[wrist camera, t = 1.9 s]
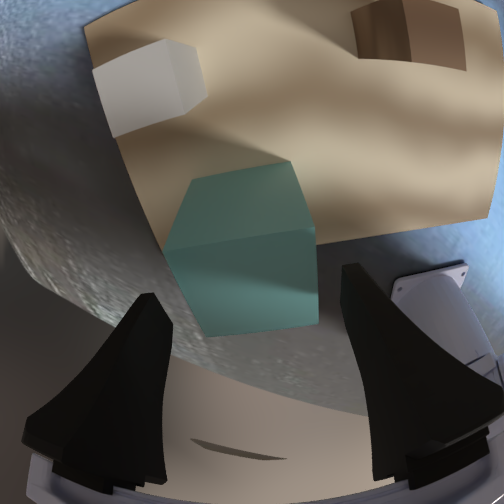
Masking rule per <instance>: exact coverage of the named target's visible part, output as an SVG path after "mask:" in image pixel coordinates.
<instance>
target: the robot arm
mask: <svg viewBox="0 0 504 504" xmlns="http://www.w3.org/2000/svg"><path fill="white" fill-rule="evenodd" d="M468 268H469V266H468V264H467V263H463V264H459V265H454V266H450V267H446V268H442V269H438V270H433V271H429V272H424V273H420V274H415V275H411V276H406V277H401V278H398V279H397V280H396V281H395V282H394V286H393V290H392V294H391V298H389V297H388V296H387V295H386V294H385V293H384V291H383V290H382V289H381V288H380V287H379V286H378V285H377V283H376V282H375V281H374V280H373V279H372V278H371V277H370V275H369V274H368V273H367V272H366V271H365V269H364V268H363V267H362V266H361V265H360V264H359V263H354V264H348V265H342V280H341V298H340V304H341V308H342V313H343V318H344V322H345V326H346V330H347V333H348V336H349V339H350V342H351V345H352V348H353V351H354V354H355V357H356V361H357V364H358V367H359V370H360V373H361V377H362V381H363V386H364V391H365V397H366V403H367V410H368V417H369V425H370V435H371V445H372V446H371V447H372V472H373V480H374V481H379V480H383V479H387V478H390V477H393V476H394V480H395V483H392V484H389V485H386V486H383V487H379V488H376V489H371V490H368V491H364V492H360V493H355V494H351V495H346V496H341V497H336V498H330V499H324V500H318V501H310V502H301V503H291V504H504V353H503V354H501V355H500V356H497V355H495V353H494V351H493V349H492V347H491V345H490V342H489V340H488V338H487V336H486V334H485V332H484V330H483V328H482V326H481V325H480V323H479V321H478V319H477V317H476V315H475V313H474V312H473V310H472V308H471V306H470V305H469V303H468V301H467V299H466V298H465V296H464V294H463V293H462V291H461V289H460V288H461V286H462V283H463V281H464V279H465V276H466V274H467V271H468ZM172 337H173V323H172V321H171V320H170V318H169V317H168V315H167V314H166V312H165V310H164V309H163V307H162V305H161V304H160V302H159V301H158V299H157V297H156V296H155V294H154V292H153V293H144V294H140V296H139V297H138V298H137V299H136V300H135V302H134V303H133V304H132V306H131V307H130V308H129V310H128V311H127V313H126V314H125V315H124V317H123V318H122V320H121V321H120V322H119V324H118V325H117V326H116V328H115V330H114V331H113V332H112V333H111V335H110V336H109V337H108V339H107V340H106V341H105V343H104V344H103V345H102V347H101V348H100V349H99V350H98V352H97V353H96V354H95V356H94V357H93V358H92V359H91V361H90V362H89V363H88V364H87V365H86V366H85V368H84V369H83V370H82V371H81V372H80V373H79V374H78V375H77V376H76V377H75V378H74V380H72V381H71V382H70V383H69V384H68V385H67V386H66V387H65V388H64V389H63V390H62V391H61V392H60V393H59V394H58V395H57V396H55V397H54V398H53V399H52V400H51V401H50V402H48V403H47V404H46V405H44V406H43V407H42V408H40V409H39V410H37V411H36V412H35V413H33V414H32V415H30V416H29V417H27V420H26V424H25V428H24V432H23V436H22V443H23V444H24V445H26V446H28V447H30V448H32V449H33V450H35V451H37V452H39V453H41V454H43V455H45V456H47V457H50V458H52V459H54V461H53V462H52V461H49V460H47V459H45V458H43V457H41V456H39V455H37V454H35V453H33V454H32V458H31V464H30V470H29V476H28V483H27V493H26V495H27V496H28V497H29V498H30V499H32V500H33V501H35V502H36V503H37V504H209V503H199V502H191V501H183V500H176V499H170V498H165V497H159V496H154V495H150V494H145V493H141V492H137V491H135V488H136V486H140V487H144V484H145V482H149V483H154V484H159V485H162V484H164V483H166V481H167V475H166V470H165V462H164V453H163V440H162V406H163V394H164V388H165V382H166V377H167V370H168V365H169V359H170V354H171V348H172Z"/></svg>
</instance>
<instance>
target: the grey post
mask: <svg viewBox="0 0 504 504" xmlns="http://www.w3.org/2000/svg"><path fill="white" fill-rule="evenodd" d="M92 72H93V75H94V79H95V83H96V86H97V89H98V93H99V96H100V100H101V103H102V106H103V109H104V112H105V115H106V118H107V121H108V124H109V127H110V130H111V133H112V136H113V138H115V137H118V136H120V135H123V134H125V133H128V132H131V131H134V130H137V129H139V128H142V127H145V126H148V125H151V124H154V123H158V122H161V121H164V120H167V119H171V118H174V117H177V116H181V115H185V114H186V113H187V112H189V111H190V110H191V109H192V108H194V107H195V106H196V105H197V104H199V103H200V102H201V101H203V100H204V99H205V98H207V97H208V95H207V91H206V87H205V83H204V78H203V74H202V70H201V66H200V62H199V58H198V54H197V50H196V47H192V46H189V45H186V44H183V43H179V42H176V41H172V40H168V39H163V40H160V41H157V42H155V43H152V44H149V45H146V46H144V47H141V48H139V49H136V50H134V51H131V52H129V53H127V54H124V55H122V56H120V57H118V58H116V59H113V60H111V61H109V62H107V63H105V64H103V65H101V66H99V67H97V68H95V69H93V70H92Z"/></svg>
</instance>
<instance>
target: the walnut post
mask: <svg viewBox="0 0 504 504" xmlns="http://www.w3.org/2000/svg"><path fill="white" fill-rule="evenodd" d="M350 13H351V18H352V23H353V28H354V34H355V39H356V46H357V52H358V59H379V60H394V61H405V62H414V63H422V64H429V65H436V66H442V67H447V68H452V69H457V70H462V71H466V72H467V69H466V56H465V47H464V38H463V31H462V25H461V19H460V14H459V9H457V8H454V7H452V6H448V5H445V4H442V3H439V2H435V1H432V0H378V1H375V2H373V3H370V4H368V5H365V6H362V7H360V8H358V9H355V10H353V11H351V12H350Z"/></svg>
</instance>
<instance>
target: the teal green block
mask: <svg viewBox="0 0 504 504" xmlns="http://www.w3.org/2000/svg"><path fill="white" fill-rule="evenodd" d="M162 252H163V254H164V257H165V259H166V261H167V263H168V265H169V267H170V269H171V271H172V273H173V275H174V277H175V279H176V281H177V283H178V285H179V287H180V289H181V291H182V293H183V295H184V297H185V299H186V301H187V303H188V305H189V307H190V308H191V310H192V312H193V314H194V316H195V318H196V320H197V321H198V323H199V325H200V327H201V329H202V331H203V332H204V334H205V336H206V337H216V336H228V335H238V334H247V333H256V332H264V331H272V330H280V329H287V328H294V327H301V326H307V325H314V324H319V310H318V275H317V253H316V236H315V226H314V223H313V220H312V217H311V214H310V211H309V209H308V206H307V203H306V200H305V198H304V195H303V192H302V190H301V187H300V184H299V182H298V179H297V176H296V174H295V171H294V169H293V166H292V164H291V161H289V162H282V163H276V164H269V165H263V166H257V167H252V168H246V169H241V170H235V171H230V172H225V173H220V174H215V175H210V176H206V177H201V178H196V179H192V180H191V183H190V185H189V187H188V189H187V192H186V194H185V196H184V199H183V201H182V203H181V206H180V208H179V210H178V213H177V215H176V218H175V220H174V223H173V225H172V228H171V230H170V233H169V235H168V238H167V240H166V243H165V245H164V248H163V251H162Z"/></svg>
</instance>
